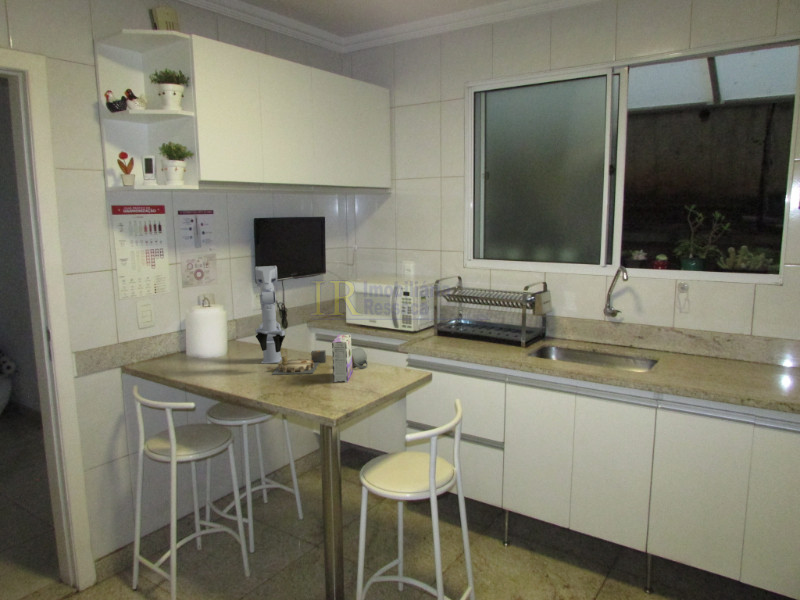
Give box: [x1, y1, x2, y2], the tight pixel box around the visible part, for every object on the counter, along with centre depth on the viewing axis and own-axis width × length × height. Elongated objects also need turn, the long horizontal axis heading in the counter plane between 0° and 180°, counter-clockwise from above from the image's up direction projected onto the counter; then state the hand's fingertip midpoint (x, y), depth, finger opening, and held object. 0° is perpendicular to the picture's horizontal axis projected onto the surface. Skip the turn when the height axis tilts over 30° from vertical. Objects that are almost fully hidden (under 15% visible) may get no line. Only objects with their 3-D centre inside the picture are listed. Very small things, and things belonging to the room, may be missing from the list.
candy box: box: [331, 334, 354, 383], centre depth 221 cm, size 14×6×16 cm, turn 177°
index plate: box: [271, 362, 320, 376], centre depth 237 cm, size 17×17×1 cm
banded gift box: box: [310, 349, 327, 364], centre depth 247 cm, size 3×6×5 cm, turn 89°
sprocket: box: [277, 356, 314, 373], centre depth 236 cm, size 15×15×6 cm
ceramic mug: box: [352, 346, 368, 370], centre depth 237 cm, size 11×8×8 cm
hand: (271, 351), depth 234 cm, fingers open, 7 cm apart
